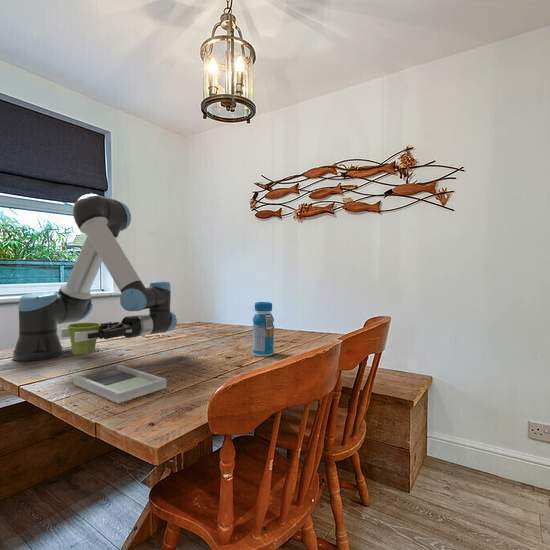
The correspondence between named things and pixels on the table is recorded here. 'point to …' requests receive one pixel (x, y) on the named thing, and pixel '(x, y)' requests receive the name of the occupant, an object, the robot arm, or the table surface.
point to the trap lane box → (121, 384)
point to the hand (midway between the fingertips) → (68, 335)
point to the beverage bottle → (263, 329)
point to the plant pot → (82, 346)
